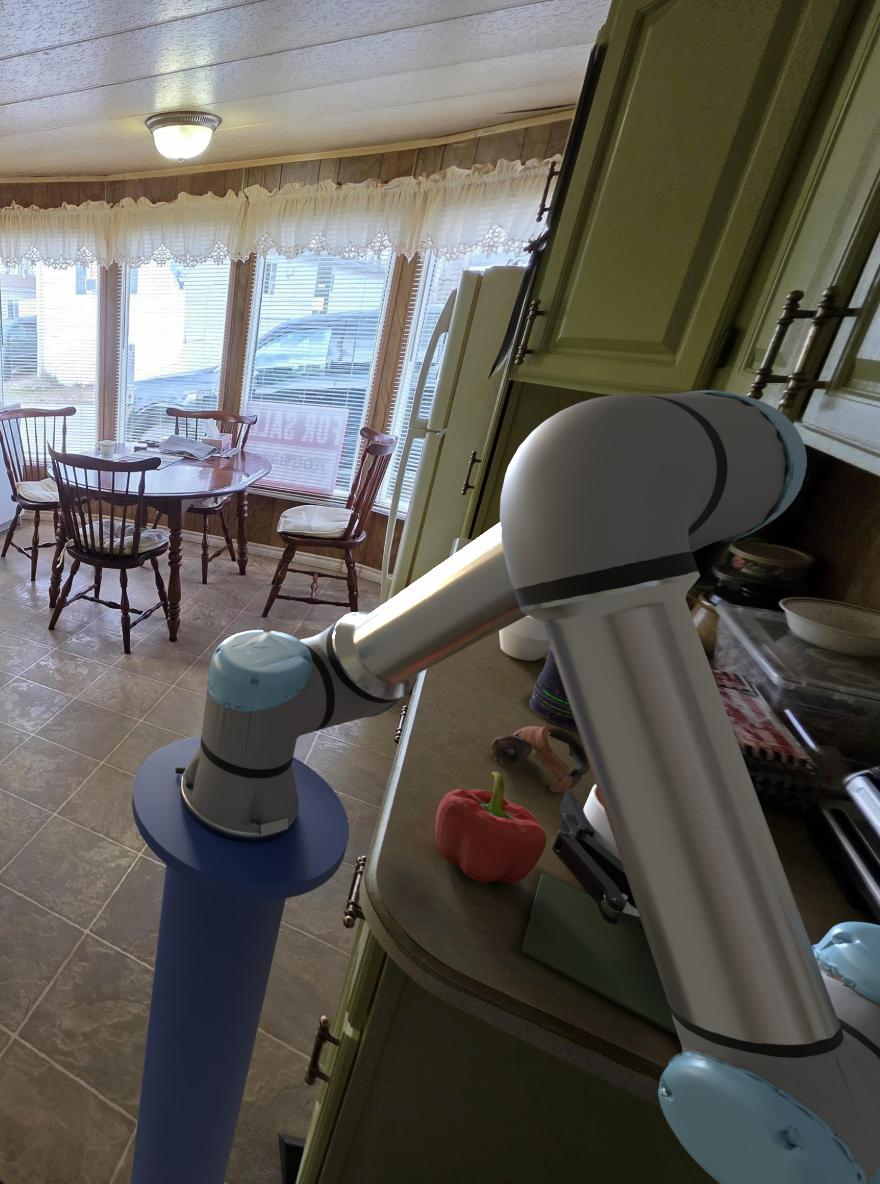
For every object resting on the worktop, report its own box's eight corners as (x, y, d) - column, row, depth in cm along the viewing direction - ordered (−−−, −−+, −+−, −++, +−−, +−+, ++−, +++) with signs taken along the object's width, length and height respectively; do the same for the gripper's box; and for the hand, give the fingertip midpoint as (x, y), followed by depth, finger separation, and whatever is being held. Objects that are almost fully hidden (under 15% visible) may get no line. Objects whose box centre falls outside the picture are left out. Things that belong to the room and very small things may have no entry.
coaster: (520, 951, 64) (522, 949, 64) (541, 875, 73) (542, 872, 73) (691, 1044, 56) (693, 1041, 56) (690, 945, 65) (692, 943, 65)
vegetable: (428, 816, 81) (448, 753, 77) (523, 848, 77) (550, 782, 73) (425, 876, 72) (447, 808, 68) (532, 916, 68) (563, 846, 64)
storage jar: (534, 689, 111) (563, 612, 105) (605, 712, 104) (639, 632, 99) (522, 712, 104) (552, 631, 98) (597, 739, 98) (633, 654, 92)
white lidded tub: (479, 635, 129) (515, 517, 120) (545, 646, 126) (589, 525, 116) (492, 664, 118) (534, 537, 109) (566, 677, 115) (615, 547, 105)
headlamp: (528, 747, 96) (576, 722, 90) (557, 809, 90) (610, 787, 84) (462, 733, 94) (507, 707, 87) (487, 796, 87) (537, 772, 81)
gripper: (562, 974, 60) (500, 813, 79) (875, 1061, 53) (724, 863, 73) (589, 917, 57) (518, 764, 76) (924, 1002, 50) (753, 812, 70)
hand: (618, 812), depth 74 cm, fingers closed on cup, 10 cm apart
